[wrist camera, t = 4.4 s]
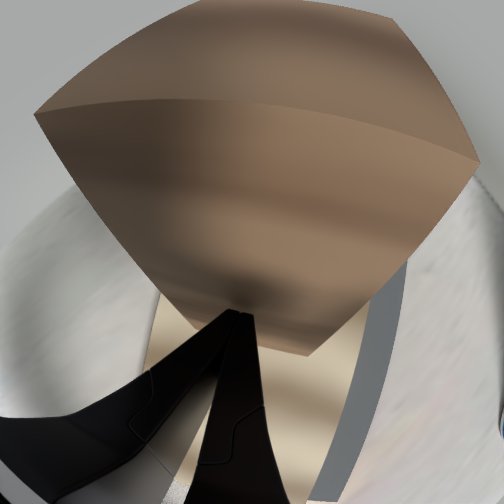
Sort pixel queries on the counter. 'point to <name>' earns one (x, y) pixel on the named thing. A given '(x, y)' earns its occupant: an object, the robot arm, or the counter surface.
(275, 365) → the birch board
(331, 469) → the rubber mat
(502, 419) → the beverage bottle
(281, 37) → the walnut block
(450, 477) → the counter surface
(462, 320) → the counter surface
